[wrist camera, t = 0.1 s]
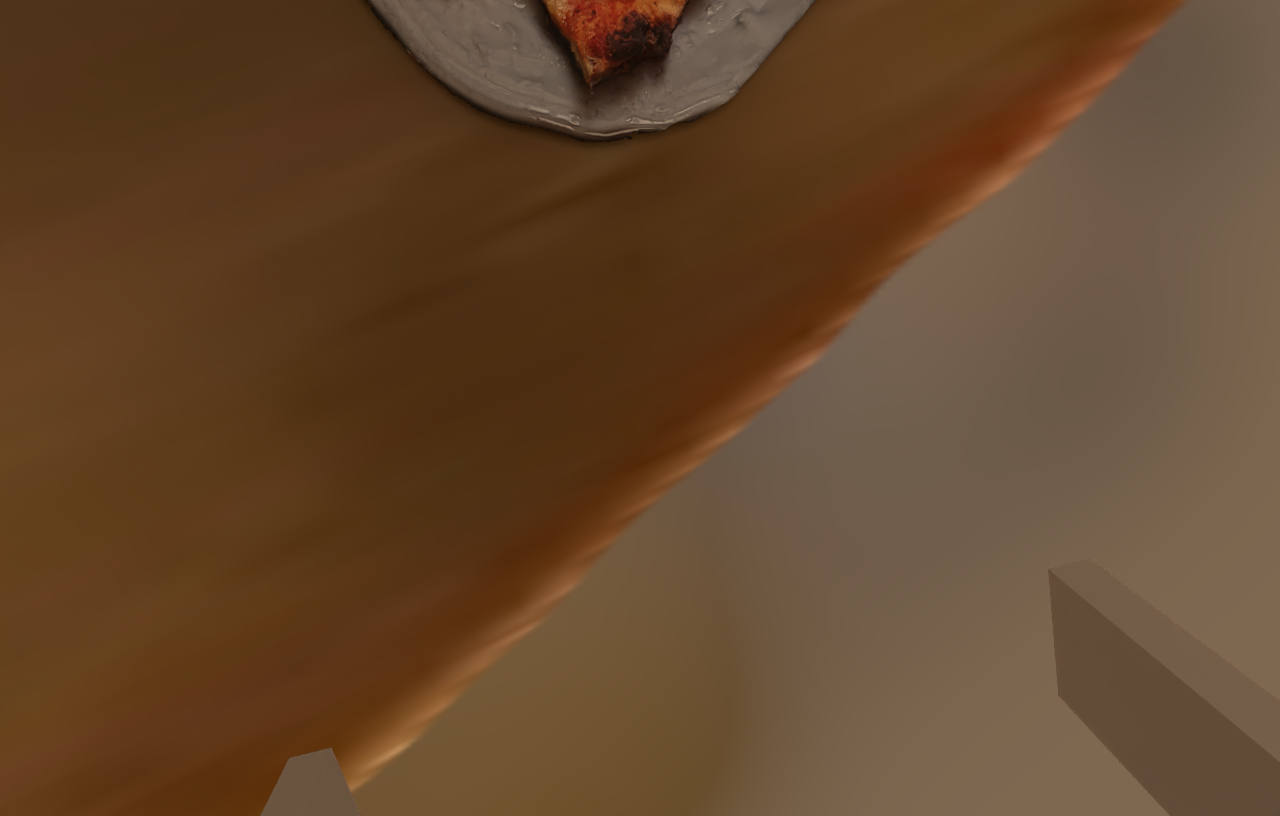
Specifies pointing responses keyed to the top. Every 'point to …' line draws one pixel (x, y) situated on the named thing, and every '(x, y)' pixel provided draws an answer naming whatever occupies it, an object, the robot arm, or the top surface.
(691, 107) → the food plate
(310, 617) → the top surface
